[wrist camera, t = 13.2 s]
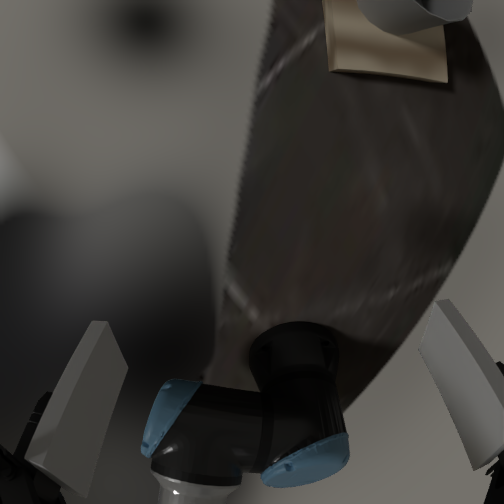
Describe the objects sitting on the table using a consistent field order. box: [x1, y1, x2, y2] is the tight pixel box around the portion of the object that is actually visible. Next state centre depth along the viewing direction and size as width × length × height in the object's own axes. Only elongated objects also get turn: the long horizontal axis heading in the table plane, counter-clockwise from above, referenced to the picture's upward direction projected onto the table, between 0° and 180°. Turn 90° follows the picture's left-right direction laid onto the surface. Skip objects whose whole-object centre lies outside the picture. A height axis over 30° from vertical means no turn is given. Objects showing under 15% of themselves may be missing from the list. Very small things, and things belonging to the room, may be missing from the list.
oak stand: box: [322, 0, 448, 83], centre depth 23 cm, size 18×14×4 cm
